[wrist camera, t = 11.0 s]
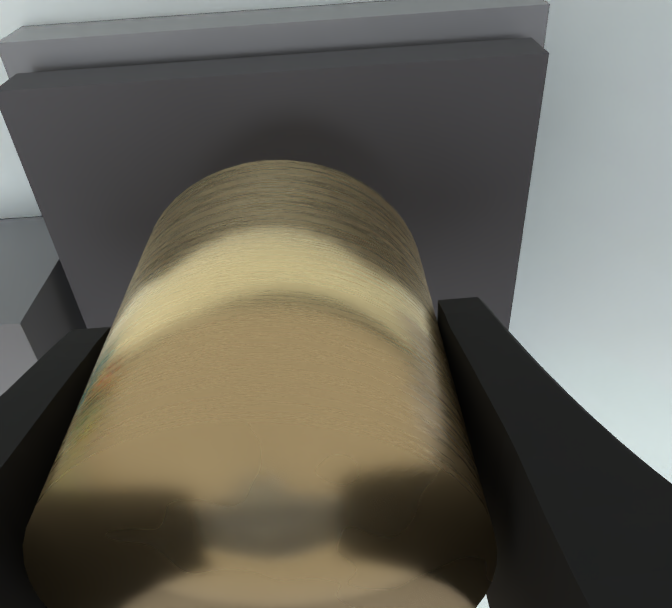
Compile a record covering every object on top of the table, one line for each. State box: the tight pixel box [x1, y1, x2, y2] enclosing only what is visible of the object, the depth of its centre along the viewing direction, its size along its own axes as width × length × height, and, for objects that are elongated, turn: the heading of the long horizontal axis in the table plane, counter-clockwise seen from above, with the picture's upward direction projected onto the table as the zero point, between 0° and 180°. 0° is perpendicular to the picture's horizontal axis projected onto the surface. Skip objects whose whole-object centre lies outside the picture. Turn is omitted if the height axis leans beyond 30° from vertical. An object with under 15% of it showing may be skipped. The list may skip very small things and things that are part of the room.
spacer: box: [23, 160, 497, 608], centre depth 9 cm, size 5×5×6 cm
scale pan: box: [0, 38, 549, 330], centre depth 17 cm, size 11×15×1 cm
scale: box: [0, 0, 550, 396], centre depth 17 cm, size 16×16×5 cm
